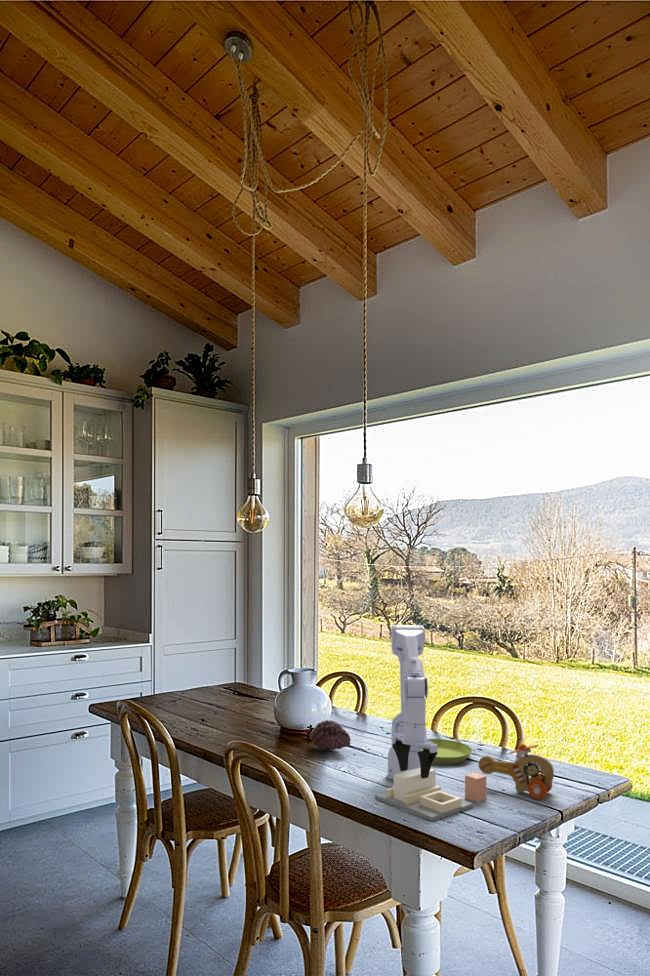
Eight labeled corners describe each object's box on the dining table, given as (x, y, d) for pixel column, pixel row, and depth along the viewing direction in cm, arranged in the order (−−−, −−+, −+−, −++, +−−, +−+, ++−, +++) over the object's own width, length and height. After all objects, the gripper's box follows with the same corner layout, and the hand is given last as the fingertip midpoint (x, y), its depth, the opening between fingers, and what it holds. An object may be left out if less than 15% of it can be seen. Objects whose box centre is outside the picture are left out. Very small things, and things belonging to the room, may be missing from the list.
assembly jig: (375, 798, 200) (375, 787, 200) (416, 786, 210) (416, 776, 210) (431, 821, 185) (432, 808, 185) (473, 807, 195) (473, 795, 195)
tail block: (464, 798, 202) (465, 775, 202) (474, 794, 205) (474, 772, 205) (476, 802, 199) (476, 779, 199) (486, 799, 202) (486, 776, 202)
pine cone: (359, 755, 240) (359, 723, 241) (336, 761, 233) (336, 728, 234) (323, 743, 253) (323, 713, 254) (300, 748, 247) (300, 717, 247)
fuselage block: (393, 797, 198) (393, 774, 198) (424, 788, 206) (424, 766, 206) (404, 802, 195) (404, 778, 195) (435, 792, 203) (435, 770, 203)
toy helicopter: (549, 802, 200) (549, 749, 201) (474, 788, 210) (474, 738, 211) (556, 793, 207) (556, 742, 208) (483, 780, 217) (483, 732, 218)
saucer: (397, 761, 236) (397, 750, 236) (419, 745, 254) (419, 735, 254) (462, 771, 227) (462, 760, 227) (479, 754, 245) (479, 743, 245)
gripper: (385, 719, 204) (384, 769, 204) (424, 730, 193) (424, 784, 192) (403, 715, 209) (402, 765, 208) (442, 726, 198) (442, 778, 197)
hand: (414, 773), depth 201 cm, fingers open, 7 cm apart
